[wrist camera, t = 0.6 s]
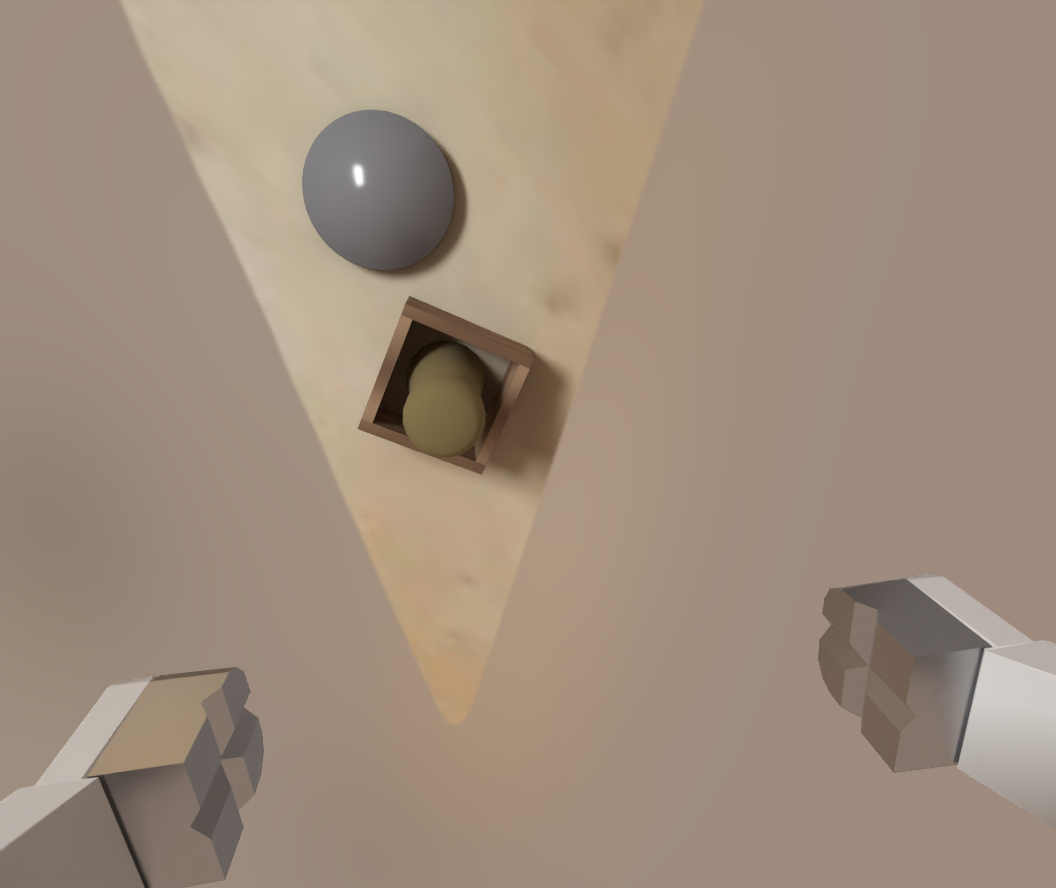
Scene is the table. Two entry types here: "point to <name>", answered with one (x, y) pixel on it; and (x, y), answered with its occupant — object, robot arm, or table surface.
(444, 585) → the table surface
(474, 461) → the walnut holder
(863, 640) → the robot arm
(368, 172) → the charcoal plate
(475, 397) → the cork
